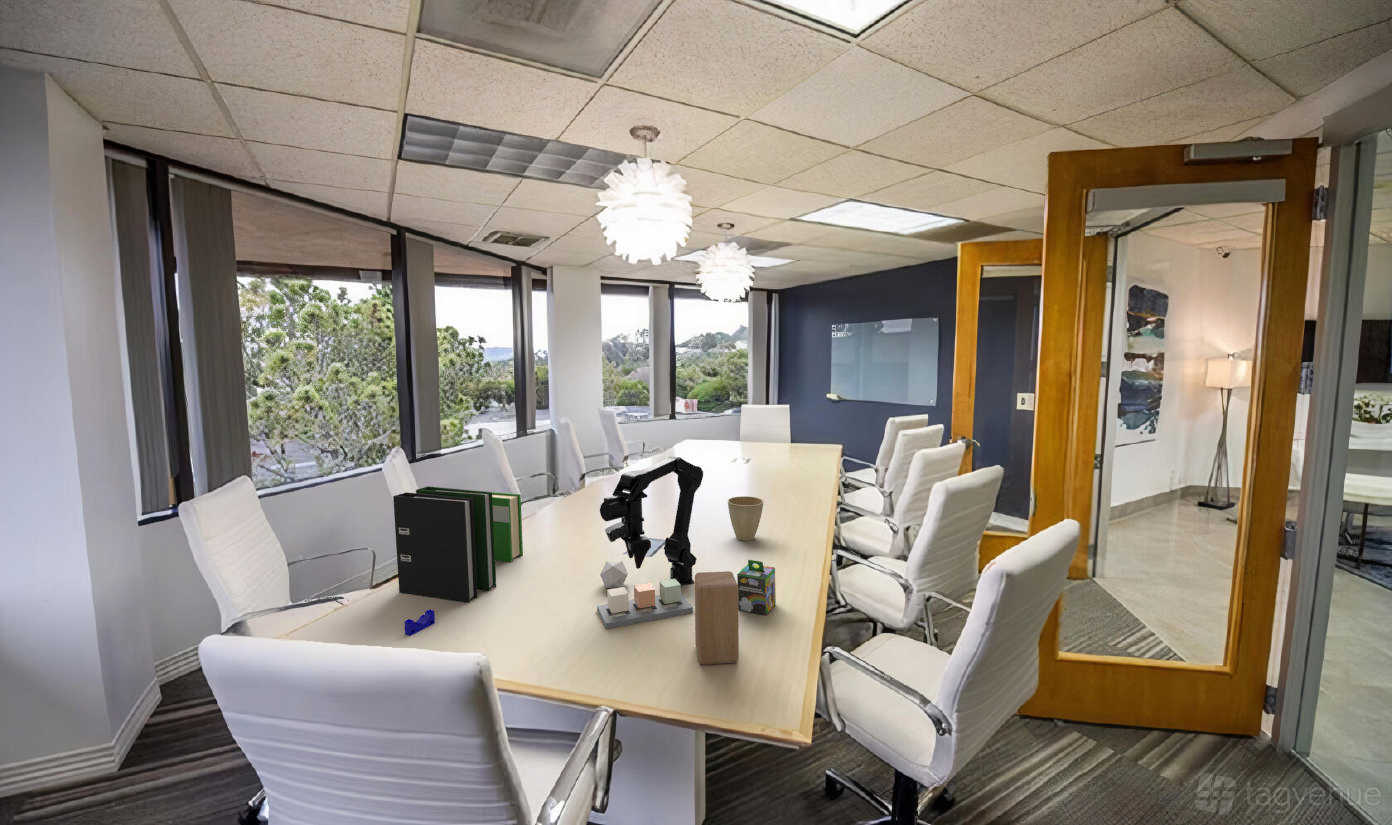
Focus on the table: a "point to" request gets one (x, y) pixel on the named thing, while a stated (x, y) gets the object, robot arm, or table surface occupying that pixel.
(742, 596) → the chalk box
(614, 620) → the grey slotted board
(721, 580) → the block
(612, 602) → the plunger cream
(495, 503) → the hardback book
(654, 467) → the robot arm
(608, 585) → the die
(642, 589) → the salmon pink cube
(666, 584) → the plunger sage
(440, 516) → the ring binders
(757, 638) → the table surface
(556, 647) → the table surface
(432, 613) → the cable holder
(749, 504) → the plant pot
